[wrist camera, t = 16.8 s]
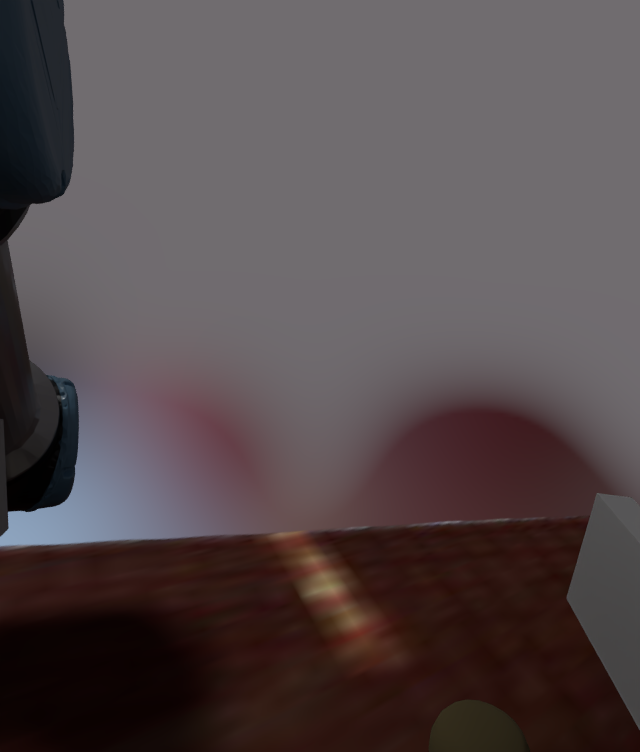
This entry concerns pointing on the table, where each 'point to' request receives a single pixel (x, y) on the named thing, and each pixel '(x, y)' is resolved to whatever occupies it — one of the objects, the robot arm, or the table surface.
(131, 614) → the table surface
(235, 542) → the table surface
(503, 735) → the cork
